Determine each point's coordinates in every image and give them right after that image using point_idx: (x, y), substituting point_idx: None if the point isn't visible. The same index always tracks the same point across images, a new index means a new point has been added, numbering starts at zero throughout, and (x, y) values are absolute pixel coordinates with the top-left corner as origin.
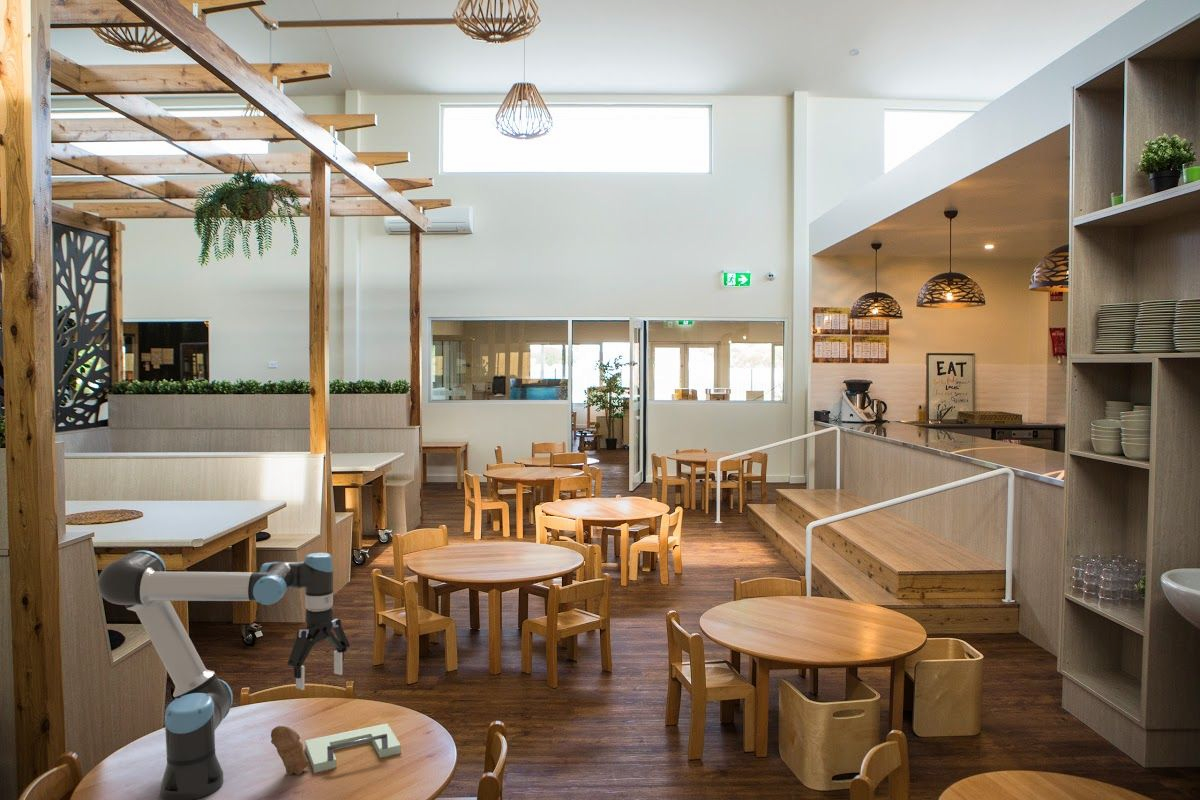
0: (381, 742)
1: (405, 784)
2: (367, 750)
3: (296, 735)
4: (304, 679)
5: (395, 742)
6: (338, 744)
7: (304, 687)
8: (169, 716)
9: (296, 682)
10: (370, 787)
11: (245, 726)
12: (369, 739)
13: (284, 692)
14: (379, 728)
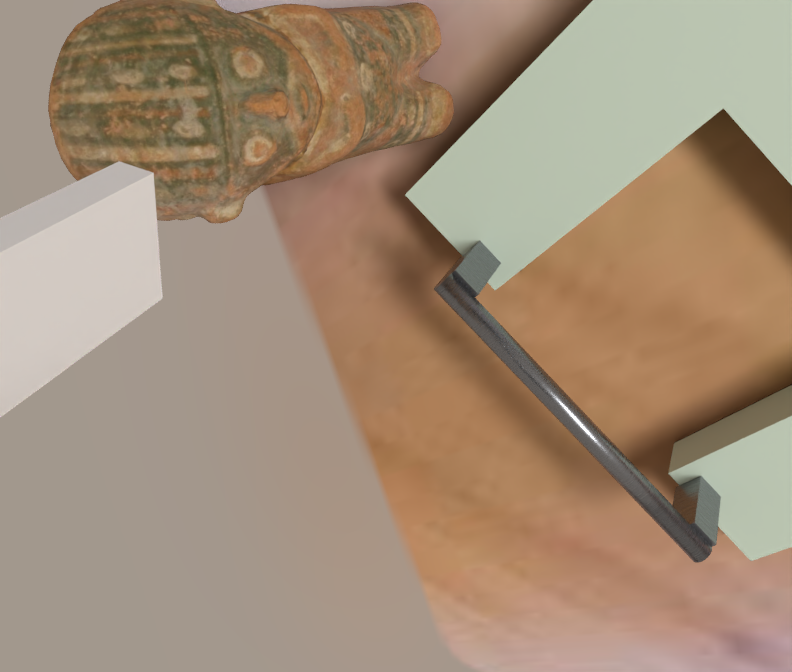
0: (772, 457)
1: (462, 587)
2: (767, 344)
3: (195, 214)
4: (56, 374)
5: (782, 530)
6: (484, 339)
7: (143, 309)
8: None
9: (54, 203)
10: (400, 479)
11: None
12: (616, 478)
13: None
14: None
